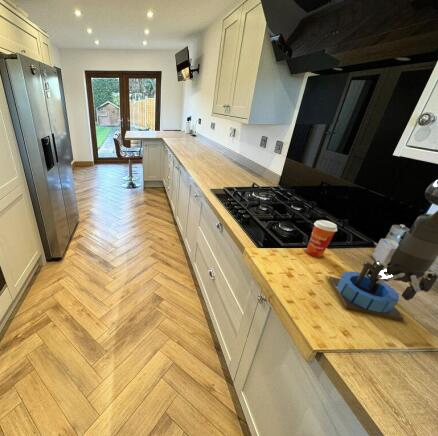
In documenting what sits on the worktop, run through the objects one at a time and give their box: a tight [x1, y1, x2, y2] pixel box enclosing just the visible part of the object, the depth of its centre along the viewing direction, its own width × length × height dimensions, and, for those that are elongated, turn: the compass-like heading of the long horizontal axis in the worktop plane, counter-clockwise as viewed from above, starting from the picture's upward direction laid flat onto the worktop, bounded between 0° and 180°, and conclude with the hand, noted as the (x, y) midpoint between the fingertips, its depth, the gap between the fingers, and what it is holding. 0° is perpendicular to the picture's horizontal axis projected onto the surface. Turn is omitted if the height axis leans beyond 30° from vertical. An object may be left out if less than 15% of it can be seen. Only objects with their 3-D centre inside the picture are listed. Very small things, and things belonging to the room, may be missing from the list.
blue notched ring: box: [337, 271, 400, 312], centre depth 74 cm, size 14×14×4 cm
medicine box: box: [371, 238, 400, 264], centre depth 92 cm, size 8×4×9 cm, turn 161°
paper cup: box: [306, 219, 338, 258], centre depth 95 cm, size 8×8×14 cm
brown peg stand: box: [328, 261, 405, 322], centre depth 72 cm, size 14×14×13 cm
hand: (388, 294), depth 72 cm, fingers open, 8 cm apart
